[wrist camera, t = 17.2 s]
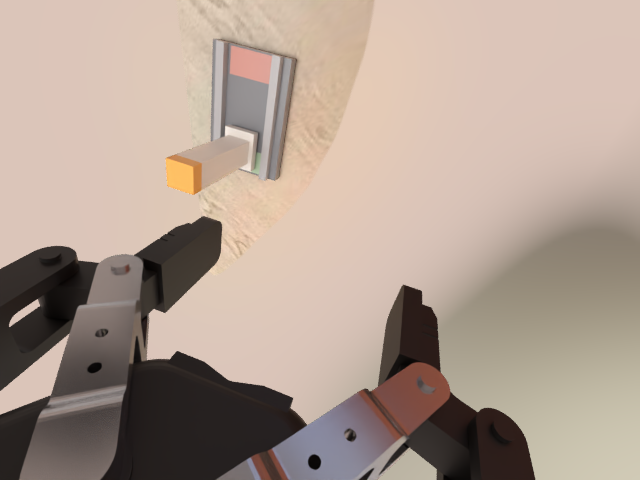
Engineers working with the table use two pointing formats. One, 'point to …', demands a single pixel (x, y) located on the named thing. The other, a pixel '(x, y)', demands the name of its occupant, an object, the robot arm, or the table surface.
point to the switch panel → (252, 99)
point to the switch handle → (212, 160)
